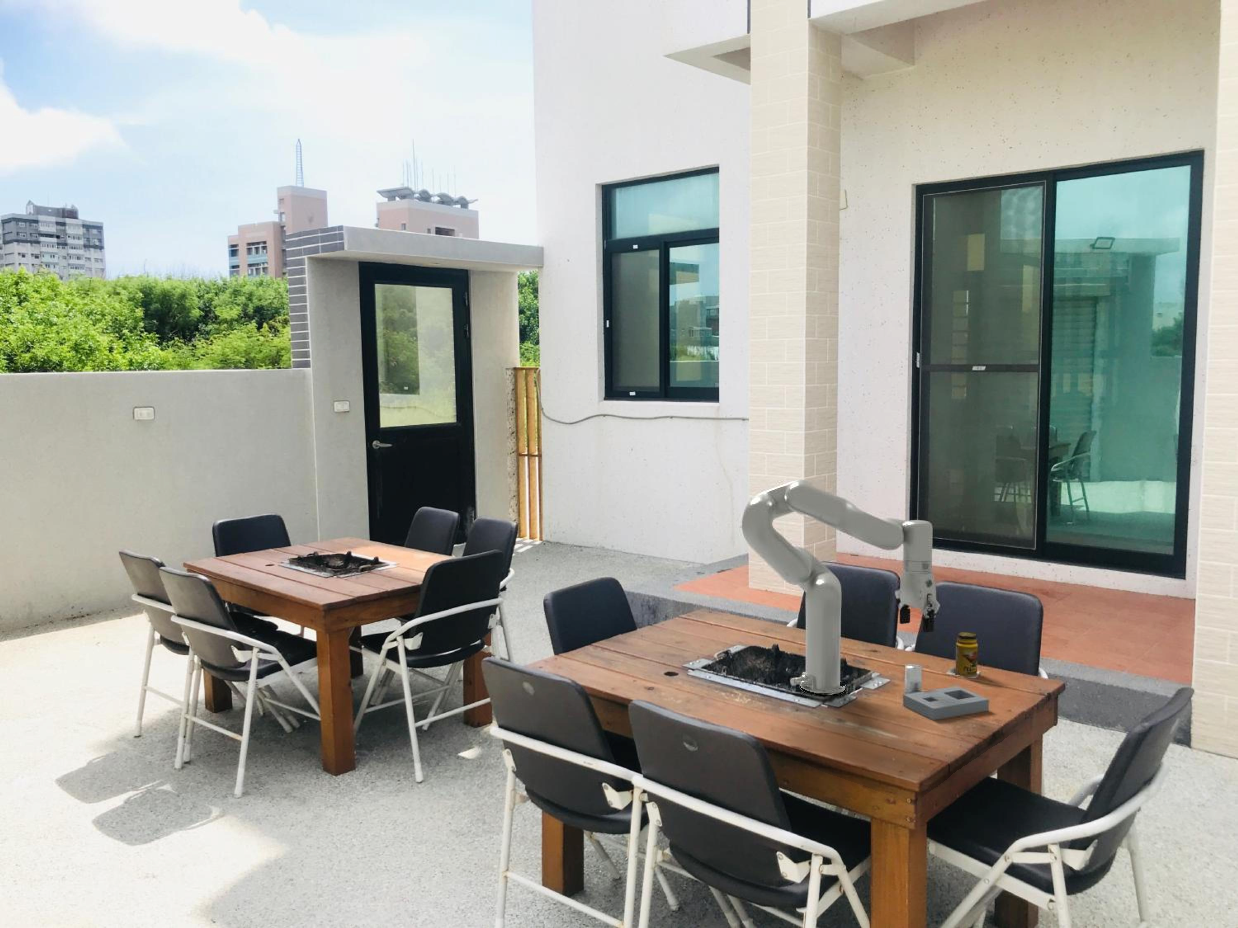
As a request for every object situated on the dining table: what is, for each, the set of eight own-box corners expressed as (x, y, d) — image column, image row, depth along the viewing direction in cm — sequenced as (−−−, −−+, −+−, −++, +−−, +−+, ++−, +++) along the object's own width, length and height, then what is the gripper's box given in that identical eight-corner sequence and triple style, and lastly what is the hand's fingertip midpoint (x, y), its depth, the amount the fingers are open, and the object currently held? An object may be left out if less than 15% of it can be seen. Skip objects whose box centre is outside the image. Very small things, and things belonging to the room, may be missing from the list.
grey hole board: (933, 719, 248) (933, 708, 247) (903, 705, 259) (903, 694, 258) (988, 710, 254) (989, 699, 254) (957, 696, 265) (957, 685, 265)
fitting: (911, 698, 264) (912, 669, 264) (901, 693, 268) (901, 665, 268) (924, 696, 266) (925, 667, 265) (914, 691, 270) (914, 663, 269)
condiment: (976, 678, 281) (977, 638, 280) (945, 674, 285) (946, 634, 284) (980, 671, 287) (981, 632, 286) (950, 667, 291) (951, 628, 290)
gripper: (950, 570, 257) (949, 633, 259) (907, 559, 273) (906, 618, 275) (927, 572, 254) (926, 636, 256) (886, 561, 270) (885, 621, 272)
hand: (916, 627), depth 265 cm, fingers open, 9 cm apart
